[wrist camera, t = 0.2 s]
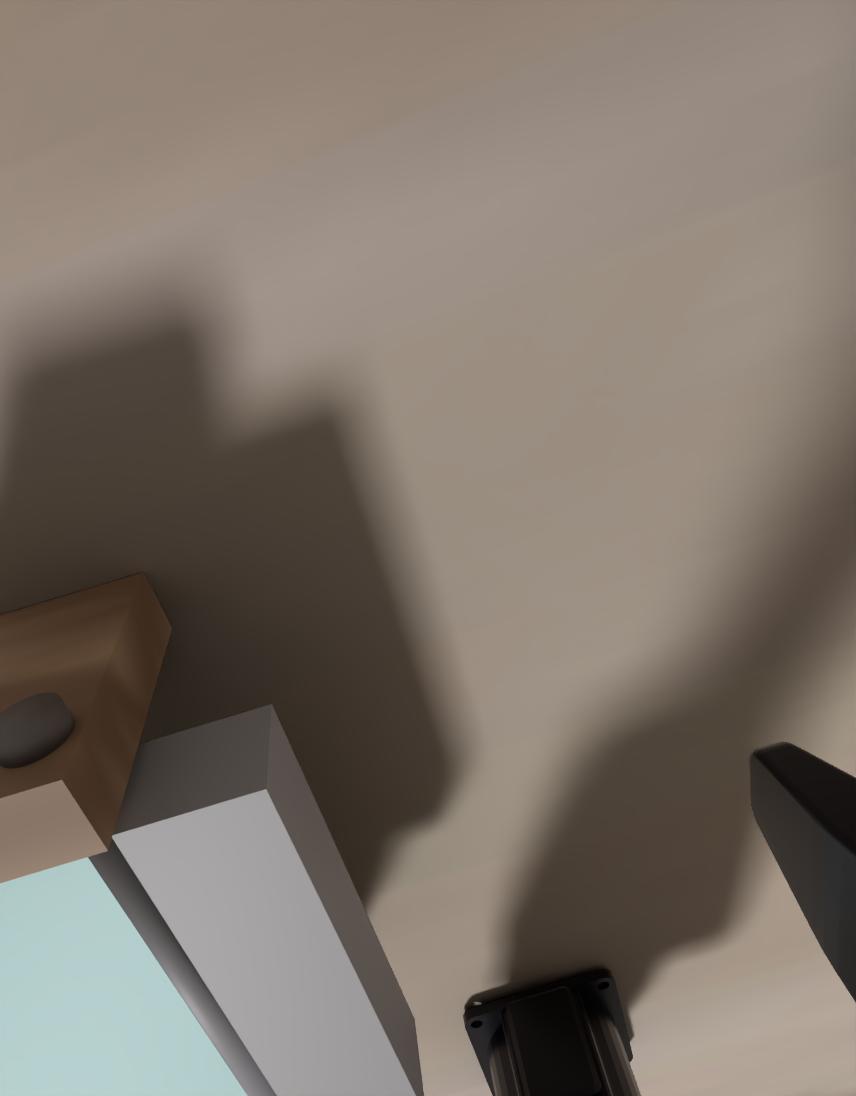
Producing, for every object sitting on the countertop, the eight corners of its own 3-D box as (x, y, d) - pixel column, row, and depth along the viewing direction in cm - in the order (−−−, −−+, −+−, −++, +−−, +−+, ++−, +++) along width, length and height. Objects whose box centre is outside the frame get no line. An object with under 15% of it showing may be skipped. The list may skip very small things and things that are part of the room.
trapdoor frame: (346, 977, 31) (358, 1236, 24) (225, 1013, 31) (199, 1285, 24) (135, 554, 22) (47, 756, 15) (-36, 605, 22) (-211, 834, 15)
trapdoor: (414, 1018, 26) (426, 1117, 23) (101, 1113, 26) (78, 1223, 23) (271, 703, 20) (266, 788, 17) (-140, 827, 20) (-210, 932, 17)
